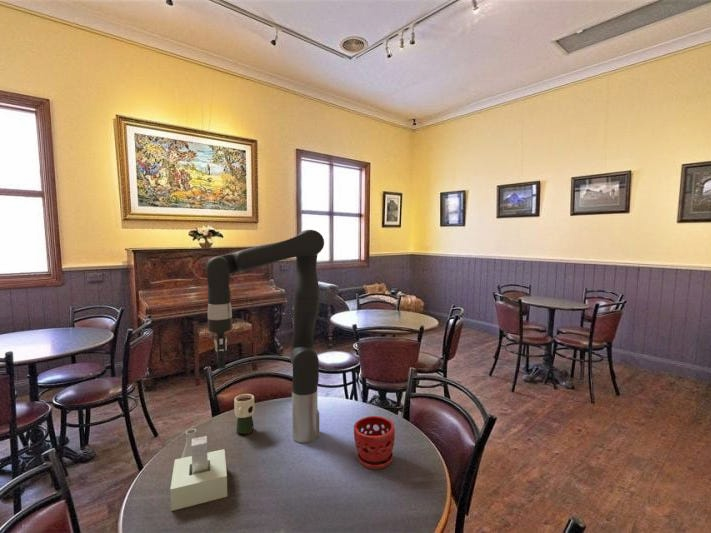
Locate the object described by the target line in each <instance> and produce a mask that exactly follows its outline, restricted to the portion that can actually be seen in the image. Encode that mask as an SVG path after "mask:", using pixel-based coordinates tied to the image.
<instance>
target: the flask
mask: <svg viewBox="0 0 711 533" xmlns="http://www.w3.org/2000/svg"><path fill="white" fill-rule="evenodd" d="M197 431H198V430H197V429H196V428H189V429H187V430H186V431H185V435H186V439H185V440H186V441H185V445H184V448H183V451H182V454H181V457H180V458H185V457H189V456H192V439H194V438H197Z"/></svg>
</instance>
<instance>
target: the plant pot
mask: <svg viewBox="0 0 711 533" xmlns="http://www.w3.org/2000/svg"><path fill="white" fill-rule="evenodd" d="M382 425H383V427H382ZM368 426H369V427H368ZM374 426H378V430H376V429H374ZM362 429H363V430H362ZM395 430H396V429H395V424H394V423H393V422H392V420H391V419H389V418H386V417H384V416H377V415H373V416H372V415H369V416H365V417H363V418H361V419H359V420H357V421H356V422H355V423H354V425H353V435H354V436H353V437H354V444H355V447H356V450H357V459H358V461H359V463H361V465H362V466H364V467H365V468H368V469H371V470H373V469H374V470H376V469H377V470H379V468H380V469H383V468H386V467H387V466H389V465H390V464H391V463H392V461H393V459H394V453H393V450H394V446H395V438H396V436H395V435H396V434H395V433H396V431H395ZM370 432H371V433H370ZM382 432H384V433H382Z"/></svg>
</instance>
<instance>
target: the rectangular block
mask: <svg viewBox="0 0 711 533" xmlns="http://www.w3.org/2000/svg"><path fill="white" fill-rule="evenodd" d="M207 453H208V436H207V435H205V436H199V437H196V438H194V439H192V474H193V475H194V474H198V473H202V472H207V471H208V459H207Z"/></svg>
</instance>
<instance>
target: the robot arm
mask: <svg viewBox="0 0 711 533" xmlns="http://www.w3.org/2000/svg"><path fill="white" fill-rule="evenodd" d="M324 246H325V239H324V237H323V234H321V233H320V232H319V231H317V230H315V229H305V230H303V231H301V232H299V233H298V235H296V236H293V237H290V238H289V239H286V240H281V241H278V242H273V243H272V242H271V243H268V244H263V245H257V246H252V247H249V248H245V249H240V250H239V251H236V252H231V253H227V254H222V255H221V254H220V255H216V256H213V257H211V258H210V259H209V261H207V264H206V280H207V281H206V282H207V287H208V289H207V301H208V302H207V330H208V332H209V333H212V334H213V333H215V335H214V336H213V341H214V342H213V343H214V347H215V352H216V357H217V368H218V370H219V369H220V370H221V369H225V368H226V355H227V353H226V351H227V346H228V344H227V342H228V335H227V334H225V333H226V332H231V331H232V329H233V313H232V312H233V310H232V302H231V297H232V296H231V288H230V275H231V274H234V273H237V272H245V271H250V270H254V269H257V268H262V267H264V266H267V265H270V264H273V263H277V262H280V261H284V260H287V259H292V258H293V259H294V258H296V259H295V260H296V269H295V271H296V272H295V278H294V288H293V302H292V310H293V311H292V313H293V314H292V315H293V317H292V318H293V320H292V321H293V336H292V343H291V344H292V345H291V350H290V351H291V352H290V356H289V357H290V362H291V365H292V383H291V415H292V416H291V423H292V428H291V430H292V432H291V433H292V439H293V440H294V441H295V442H297V443H310V442H313V441H315V440H316V439H318V438H320V437H321V436H320V433H321V432H320V410H319V409H318V406H319V405H318V404H319V403H318V385H319V382H320V381H319V378H320V366H319V364H320V362H319V357H318V354H317V353H316V351H315V347H314V333H315V332H314V330H315V325H316V322H317V318H318V316H319V315H318V314H319V311H320V310H319V309H320V286H319V285H320V284H319V280H318V273H317V264H318V263H317V261H318V254H320V253H321V252H322V251H323V249H324Z"/></svg>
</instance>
